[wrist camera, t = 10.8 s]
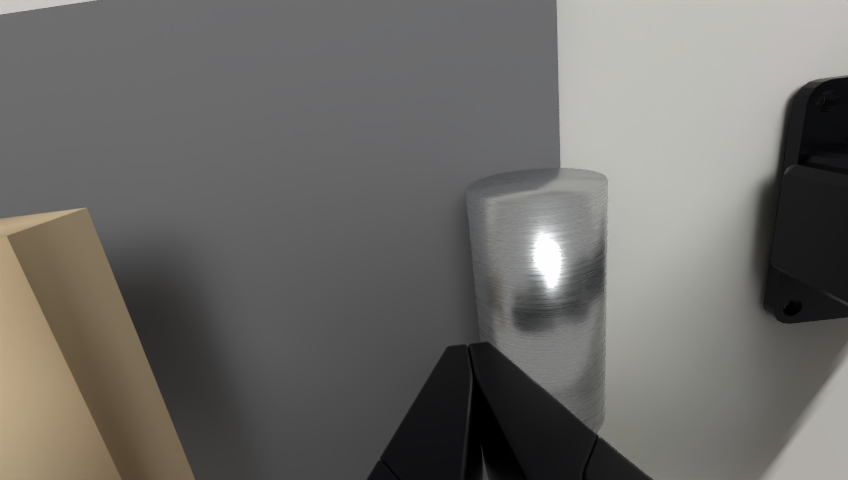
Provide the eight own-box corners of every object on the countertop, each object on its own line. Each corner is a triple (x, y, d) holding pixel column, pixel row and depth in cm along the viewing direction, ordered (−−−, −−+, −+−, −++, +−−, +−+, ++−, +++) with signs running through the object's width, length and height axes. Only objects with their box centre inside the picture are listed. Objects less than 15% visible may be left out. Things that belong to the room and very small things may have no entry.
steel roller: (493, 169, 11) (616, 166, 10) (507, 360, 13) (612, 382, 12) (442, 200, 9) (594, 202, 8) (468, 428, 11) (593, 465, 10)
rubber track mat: (549, -62, 10) (554, -68, 9) (563, 481, 15) (567, 491, 14) (-659, 117, 11) (-698, 118, 10) (-249, 561, 16) (-266, 572, 16)
